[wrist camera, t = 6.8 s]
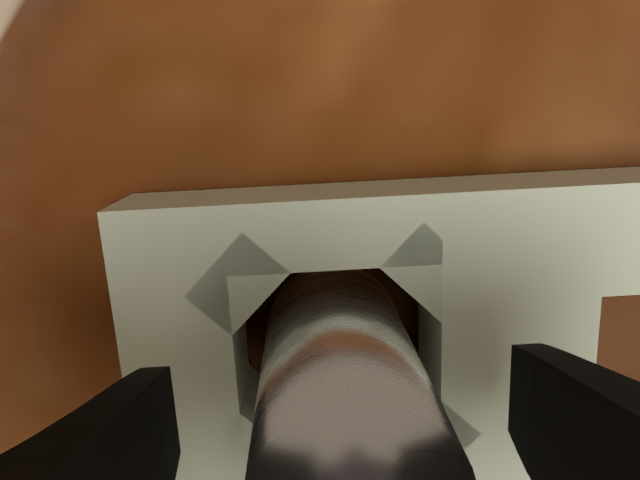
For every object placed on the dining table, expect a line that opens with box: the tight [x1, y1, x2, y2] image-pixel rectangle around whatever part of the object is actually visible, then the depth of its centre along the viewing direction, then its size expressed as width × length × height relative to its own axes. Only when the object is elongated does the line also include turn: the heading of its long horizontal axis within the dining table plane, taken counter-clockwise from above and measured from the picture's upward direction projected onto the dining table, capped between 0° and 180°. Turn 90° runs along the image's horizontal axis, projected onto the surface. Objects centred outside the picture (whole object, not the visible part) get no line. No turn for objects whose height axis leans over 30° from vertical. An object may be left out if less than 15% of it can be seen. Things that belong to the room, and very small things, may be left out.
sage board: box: [97, 166, 640, 480], centre depth 14 cm, size 9×18×2 cm, turn 93°
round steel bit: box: [245, 269, 476, 480], centre depth 11 cm, size 4×4×7 cm
